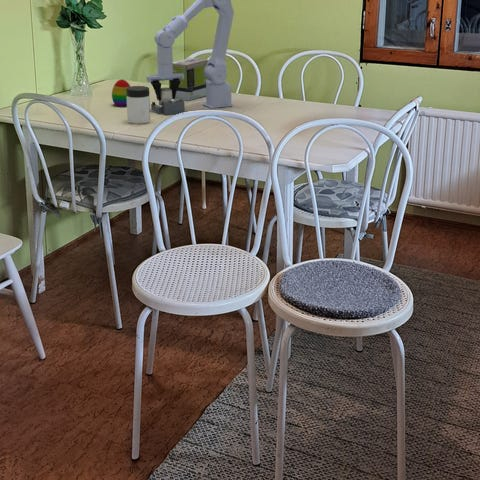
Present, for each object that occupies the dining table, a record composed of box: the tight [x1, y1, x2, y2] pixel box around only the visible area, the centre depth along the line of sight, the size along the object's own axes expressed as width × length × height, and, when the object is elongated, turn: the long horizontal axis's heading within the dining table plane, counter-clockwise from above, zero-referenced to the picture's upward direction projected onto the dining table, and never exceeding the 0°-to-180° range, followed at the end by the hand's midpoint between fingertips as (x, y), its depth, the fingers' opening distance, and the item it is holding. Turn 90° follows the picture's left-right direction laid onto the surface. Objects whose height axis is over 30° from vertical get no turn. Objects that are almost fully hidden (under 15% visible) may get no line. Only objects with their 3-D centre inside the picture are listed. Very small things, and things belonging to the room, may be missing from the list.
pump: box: [158, 87, 172, 107], centre depth 304 cm, size 5×5×6 cm
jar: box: [126, 85, 151, 125], centre depth 286 cm, size 9×8×12 cm
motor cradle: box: [150, 99, 186, 116], centre depth 302 cm, size 10×11×5 cm
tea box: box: [168, 57, 209, 102], centre depth 326 cm, size 15×10×15 cm
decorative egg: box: [111, 79, 131, 107], centre depth 311 cm, size 8×8×10 cm
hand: (166, 99), depth 304 cm, fingers closed on pump, 5 cm apart
